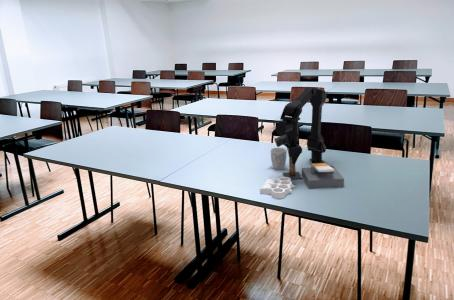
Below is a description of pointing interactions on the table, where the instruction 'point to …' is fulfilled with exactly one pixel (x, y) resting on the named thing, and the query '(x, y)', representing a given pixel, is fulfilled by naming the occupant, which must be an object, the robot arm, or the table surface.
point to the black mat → (297, 176)
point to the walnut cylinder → (291, 168)
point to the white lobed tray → (277, 187)
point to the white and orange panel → (322, 167)
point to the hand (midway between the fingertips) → (292, 160)
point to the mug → (278, 158)
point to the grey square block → (322, 178)
